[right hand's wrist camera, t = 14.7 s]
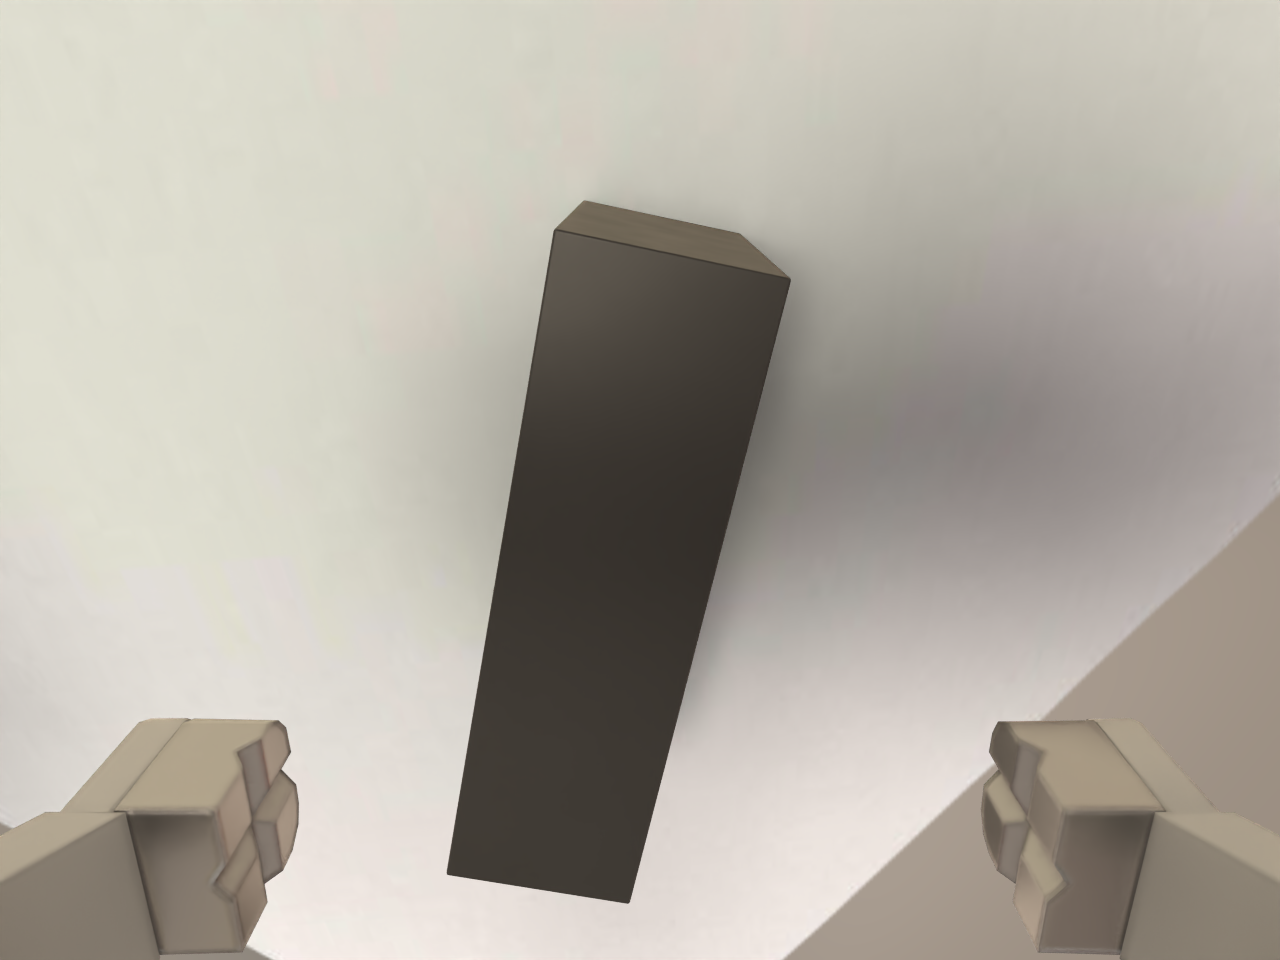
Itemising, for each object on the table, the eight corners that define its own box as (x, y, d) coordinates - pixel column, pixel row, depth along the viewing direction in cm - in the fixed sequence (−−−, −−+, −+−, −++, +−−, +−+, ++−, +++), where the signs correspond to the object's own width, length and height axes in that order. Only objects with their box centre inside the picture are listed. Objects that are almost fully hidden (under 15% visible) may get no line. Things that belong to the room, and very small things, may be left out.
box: (583, 200, 33) (553, 228, 22) (741, 233, 34) (791, 278, 22) (500, 670, 40) (445, 875, 29) (632, 693, 40) (629, 904, 29)
